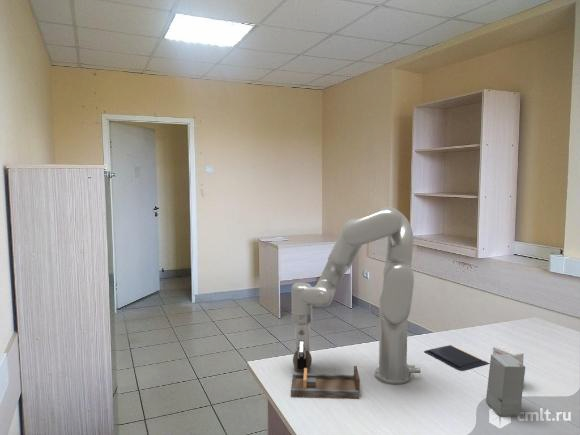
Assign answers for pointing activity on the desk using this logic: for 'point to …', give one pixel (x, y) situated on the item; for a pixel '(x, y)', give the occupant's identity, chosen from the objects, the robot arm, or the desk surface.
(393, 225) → the robot arm
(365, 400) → the desk surface
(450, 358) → the wallet
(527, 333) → the desk surface
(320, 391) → the tray
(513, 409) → the skincare box
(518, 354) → the ink box
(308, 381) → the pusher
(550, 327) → the desk surface
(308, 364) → the vase
